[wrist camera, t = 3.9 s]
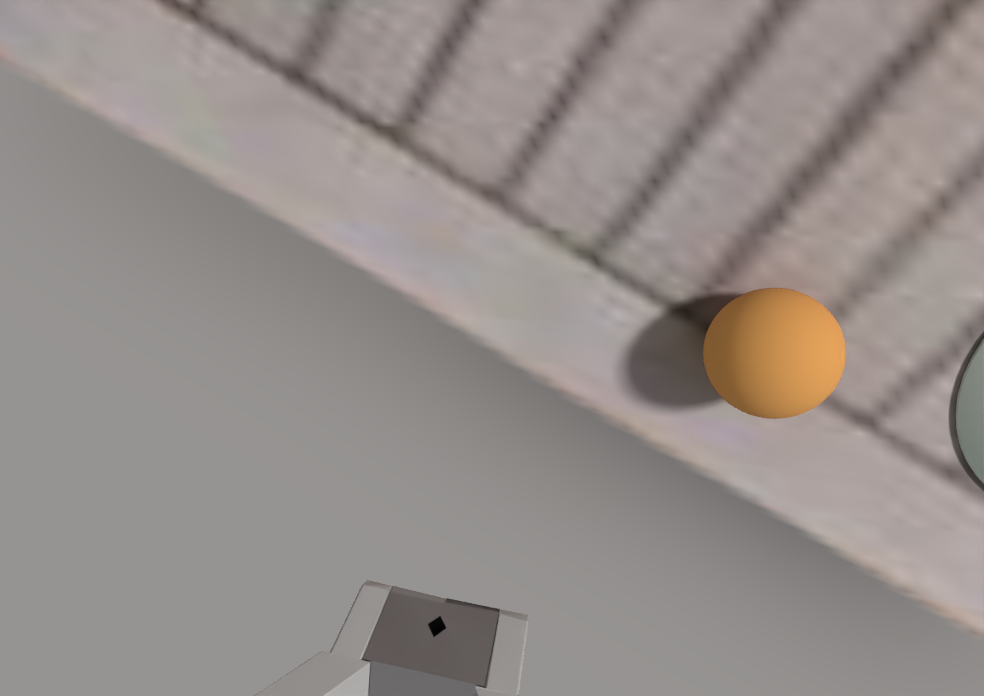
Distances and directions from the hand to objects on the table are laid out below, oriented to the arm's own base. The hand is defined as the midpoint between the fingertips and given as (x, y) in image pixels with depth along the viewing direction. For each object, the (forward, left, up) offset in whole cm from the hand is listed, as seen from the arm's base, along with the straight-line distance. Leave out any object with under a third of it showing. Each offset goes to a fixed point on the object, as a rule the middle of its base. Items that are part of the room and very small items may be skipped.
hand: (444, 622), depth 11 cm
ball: (+1, +9, -15) cm, 18 cm away
